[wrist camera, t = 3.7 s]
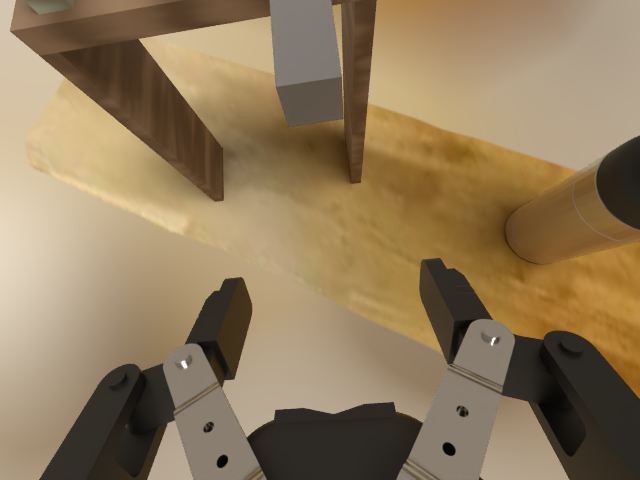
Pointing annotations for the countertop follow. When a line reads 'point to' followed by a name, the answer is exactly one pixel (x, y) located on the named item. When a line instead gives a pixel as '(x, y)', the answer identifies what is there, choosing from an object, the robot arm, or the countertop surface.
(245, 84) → the countertop surface
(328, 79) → the module
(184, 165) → the countertop shelf
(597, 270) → the countertop surface
